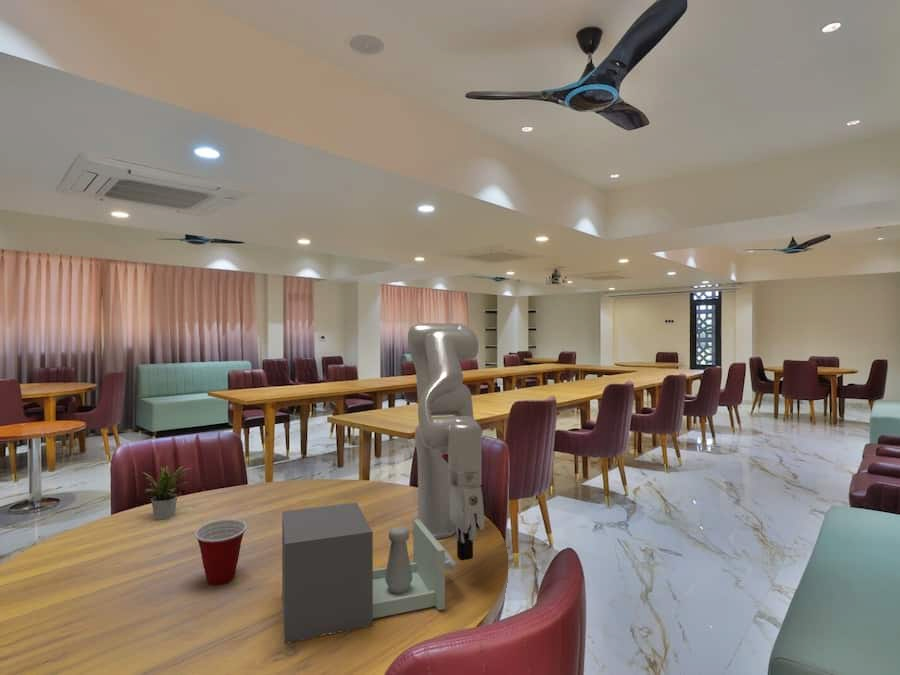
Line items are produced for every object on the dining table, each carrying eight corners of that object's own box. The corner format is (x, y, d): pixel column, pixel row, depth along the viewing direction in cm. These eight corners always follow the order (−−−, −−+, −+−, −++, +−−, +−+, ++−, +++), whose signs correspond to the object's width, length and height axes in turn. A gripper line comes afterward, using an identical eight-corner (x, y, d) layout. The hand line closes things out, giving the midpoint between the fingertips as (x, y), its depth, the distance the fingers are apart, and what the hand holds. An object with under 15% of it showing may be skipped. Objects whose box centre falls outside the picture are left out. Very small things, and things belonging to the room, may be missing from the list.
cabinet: (356, 582, 110) (356, 502, 110) (372, 625, 93) (372, 531, 93) (282, 595, 104) (282, 511, 105) (284, 643, 88) (284, 543, 88)
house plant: (203, 515, 152) (203, 463, 153) (157, 529, 141) (157, 473, 141) (178, 507, 160) (178, 457, 160) (132, 520, 148) (133, 466, 148)
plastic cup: (194, 596, 104) (194, 540, 104) (194, 575, 113) (194, 523, 113) (248, 585, 109) (248, 531, 109) (244, 565, 118) (244, 516, 118)
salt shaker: (408, 597, 101) (407, 534, 101) (381, 594, 102) (381, 532, 102) (415, 583, 107) (415, 524, 107) (390, 581, 108) (390, 522, 108)
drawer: (435, 567, 117) (435, 517, 117) (463, 605, 100) (463, 546, 100) (350, 581, 109) (350, 528, 110) (365, 625, 93) (365, 562, 93)
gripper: (494, 484, 104) (494, 570, 104) (467, 467, 118) (467, 542, 118) (462, 488, 101) (462, 576, 101) (438, 470, 115) (438, 547, 115)
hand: (465, 558), depth 110 cm, fingers closed
